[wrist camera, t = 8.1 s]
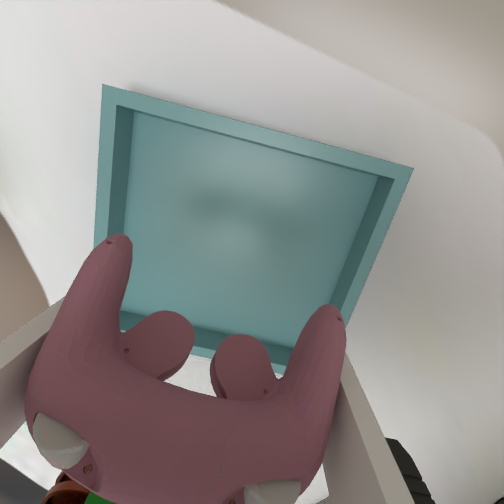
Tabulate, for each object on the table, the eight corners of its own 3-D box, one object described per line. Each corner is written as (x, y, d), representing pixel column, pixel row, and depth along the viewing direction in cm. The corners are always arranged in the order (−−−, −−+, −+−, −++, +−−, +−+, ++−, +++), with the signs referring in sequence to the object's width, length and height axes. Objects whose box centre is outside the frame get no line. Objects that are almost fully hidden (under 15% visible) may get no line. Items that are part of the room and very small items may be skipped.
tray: (390, 167, 22) (414, 168, 19) (314, 357, 28) (322, 382, 25) (127, 96, 21) (102, 83, 17) (109, 311, 27) (88, 332, 24)
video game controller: (114, 286, 13) (-15, 473, 8) (105, 214, 9) (-127, 458, 4) (305, 346, 14) (298, 549, 9) (355, 301, 10) (392, 580, 5)
